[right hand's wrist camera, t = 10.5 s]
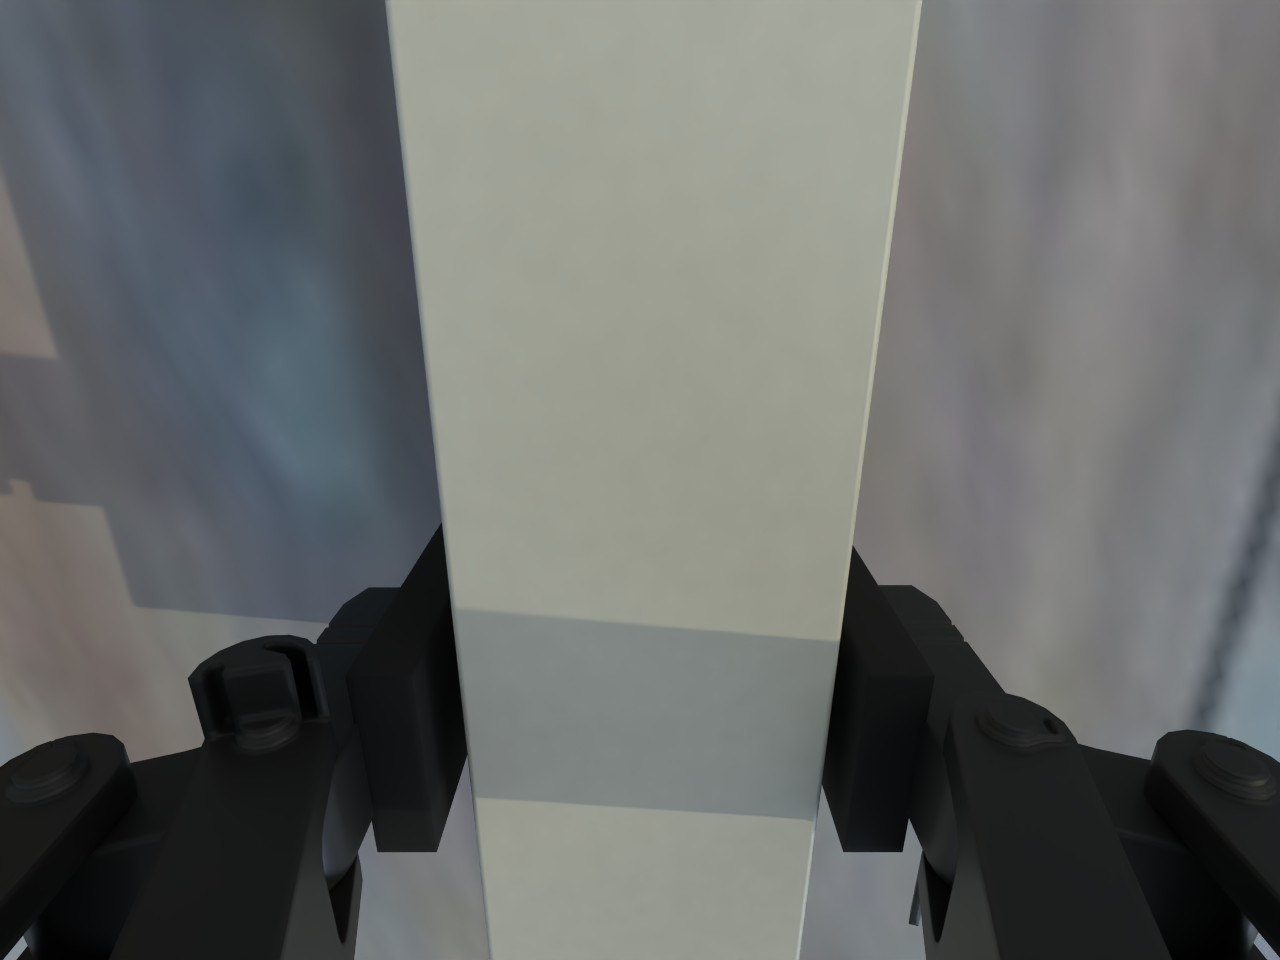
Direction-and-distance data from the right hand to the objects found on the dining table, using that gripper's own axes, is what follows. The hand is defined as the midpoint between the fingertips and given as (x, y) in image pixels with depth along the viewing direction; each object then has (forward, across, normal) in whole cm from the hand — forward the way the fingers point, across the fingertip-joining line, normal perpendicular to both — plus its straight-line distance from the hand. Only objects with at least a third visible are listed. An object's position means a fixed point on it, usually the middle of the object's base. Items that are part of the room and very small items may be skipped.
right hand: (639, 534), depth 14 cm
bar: (+2, 0, -25) cm, 25 cm away
